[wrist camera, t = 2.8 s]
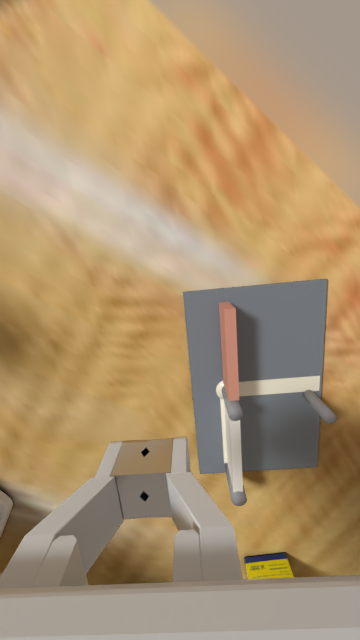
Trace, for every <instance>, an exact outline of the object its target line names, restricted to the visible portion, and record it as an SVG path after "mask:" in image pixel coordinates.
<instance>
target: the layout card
mask: <svg viewBox="0 0 360 640" xmlns="http://www.w3.org/2000/svg"><path fill="white" fill-rule="evenodd" d="M327 280H328V279H318V280H307V281H296V282H286V283H275V284H264V285H253V286H242V287H232V288H221V289H210V290H199V291H188V292H183V296H184V307H185V318H186V329H187V339H188V350H189V361H190V372H191V383H192V393H193V404H194V415H195V426H196V437H197V448H198V458H199V469H200V474H207V473H224V472H226V469H225V464H226V463H227V447H226V430H225V413H224V398H223V395H222V391H221V390H222V387H223V386H224V384H223V369H222V352H221V334H220V317H219V303H220V302H229V303H230V304H232V305H233V306H234V307H235V308H236V329H237V354H238V379H239V400H238V401H239V404H240V407H241V409H242V412H243V417H242V418H241V419H240V429H241V455H242V471H258V470H276V469H293V468H310V467H318V448H319V430H320V416H319V415H318V414H317V412H316V411H315V410H314V409H313V408H312V407H311V405H310V404H309V403H308V402H307V401H306V400H305V398H304V397H303V392H305V391H306V390H312V391H313V392H314V393H315V394H316V395H317V396H318V397H319V398H320V399H321V392H322V374H323V355H324V336H325V318H326V299H327Z"/></svg>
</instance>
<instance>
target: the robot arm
mask: <svg viewBox="0 0 360 640" xmlns="http://www.w3.org/2000/svg"><path fill="white" fill-rule="evenodd" d="M12 507H13V501H12V500H11V498H10V497H9V496H7V495H6V494H5V493H4V492H2V491H1V490H0V537H1V535H2V532H3V530H4V527H5V524H6V522H7V519H8V517H9V514H10V512H11V509H12ZM147 517H172V519H173V521H174V523H175V525H176V527H177V529H178V532H177V534H176V535H175V542H174V561H173V580H172V582H164V583H138V584H110V585H88V581H87V577H86V574H87V572H88V571H89V570H90V568H91V567H92V565H93V564H94V562H95V561H96V560H97V558H98V557H99V555H100V554H101V552H102V551H103V550H104V548H105V547H106V545H107V544H108V542H109V541H110V540H111V538H112V537H113V535H114V534H115V533H116V531H117V530H118V528H119V527H120V525H121V524H122V523H123V519H135V518H147ZM0 640H360V575H348V576H321V577H294V578H267V579H243V578H242V572H241V567H240V561H239V556H238V550H237V545H236V539H235V533H234V528H233V526H232V524H231V523H230V522H229V520H228V519H227V518H226V517H225V515H224V514H223V513H222V511H221V510H220V509H219V507H218V506H217V505H216V504H215V502H214V501H213V500H212V498H211V497H210V496H209V494H208V493H207V492H206V491H205V489H204V488H203V487H202V485H201V484H200V483H199V482H198V480H197V479H196V478H195V476H194V475H193V474H192V472H190V460H189V450H188V440H187V437H175V438H166V439H152V440H128V441H112V442H110V443H109V445H108V447H107V450H106V452H105V454H104V457H103V459H102V462H101V464H100V466H99V469H98V471H97V473H96V476H95V478H90V479H89V480H88V481H87V482H85V483H84V484H83V485H82V486H81V487H80V488H79V489H77V490H76V491H75V492H74V493H73V494H72V495H71V496H69V497H68V498H67V499H66V500H65V501H64V502H63V503H61V504H60V505H59V506H58V507H57V508H56V509H55V510H54V511H52V512H51V513H50V514H49V515H48V516H47V517H46V518H44V519H43V520H42V521H41V522H40V523H39V524H38V525H36V526H35V527H34V528H33V529H32V530H31V531H30V532H28V533H27V534H26V535H25V536H24V538H23V539H22V541H21V543H20V544H19V546H18V548H17V550H16V551H15V553H14V555H13V556H12V558H11V560H10V561H9V563H8V565H7V567H6V568H5V570H4V572H3V573H2V575H1V577H0Z"/></svg>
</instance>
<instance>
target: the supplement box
mask: <svg viewBox="0 0 360 640" xmlns="http://www.w3.org/2000/svg"><path fill="white" fill-rule="evenodd" d="M244 561H245V567H246V574H247V579H267V578H294V575H293V572H292V570H291V567H290V564H289V561H288V559H287V556H286V553H278V554H270V555H262V556H253V557H245V558H244Z"/></svg>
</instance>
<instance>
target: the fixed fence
mask: <svg viewBox="0 0 360 640" xmlns="http://www.w3.org/2000/svg"><path fill="white" fill-rule="evenodd" d="M221 391H222V395H223V398H224V413H225V430H226V447H227V463H226V464H225V469H226V474H227V479H228V484H229V490H230V495H231V500H232V503H233V504H234V505H237V506H241V505H244V504H245V503H246V501H247V498H246V495H245V491H244V487H243V480H242V455H241V429H240V419H241V418H242V417H243V412H242V409H241V407H240V404H239V401H238V400H235V401H229V400H228V396H227V393H226V390H225V387H224V386H223V387H222V390H221ZM303 397H304V398H305V400H306V401H307V402H308V403H309V404H310V405H311V407H312V408H313V409H314V410H315V411H316V412H317V414H318V415H319V416H320V417H321V418H322V419H323V421H324V422H325V423H327V424H332V423H334V422H335V421H336V419H337V416H336V415H335V414H334V413H333V412H332V411H331V410H330V409H329V408H328V407H327V406H326V405H325V404H324V402H323V401H322V400H321V399H320V398H319V397H318V396H317V395H316V394H315V393H314V392H313V391H312V390H306V391H305V392H303Z"/></svg>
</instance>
